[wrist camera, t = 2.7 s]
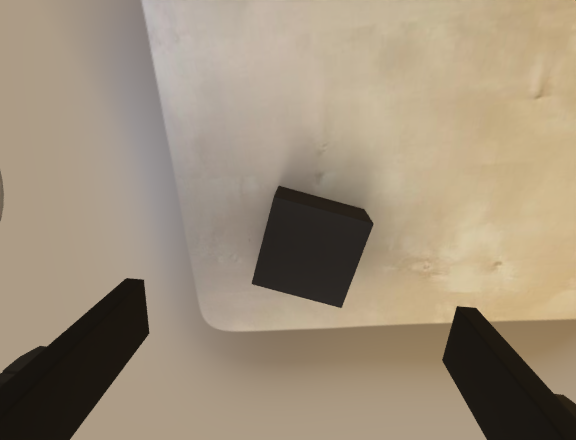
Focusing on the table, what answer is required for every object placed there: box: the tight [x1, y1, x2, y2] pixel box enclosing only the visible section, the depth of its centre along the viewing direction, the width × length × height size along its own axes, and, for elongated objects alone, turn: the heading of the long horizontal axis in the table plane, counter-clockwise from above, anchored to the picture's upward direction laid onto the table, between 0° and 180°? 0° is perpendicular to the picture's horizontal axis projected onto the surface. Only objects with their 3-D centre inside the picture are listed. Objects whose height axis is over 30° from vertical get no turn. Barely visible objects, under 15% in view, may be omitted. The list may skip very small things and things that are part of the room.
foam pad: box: [252, 186, 373, 308], centre depth 26 cm, size 8×8×4 cm
